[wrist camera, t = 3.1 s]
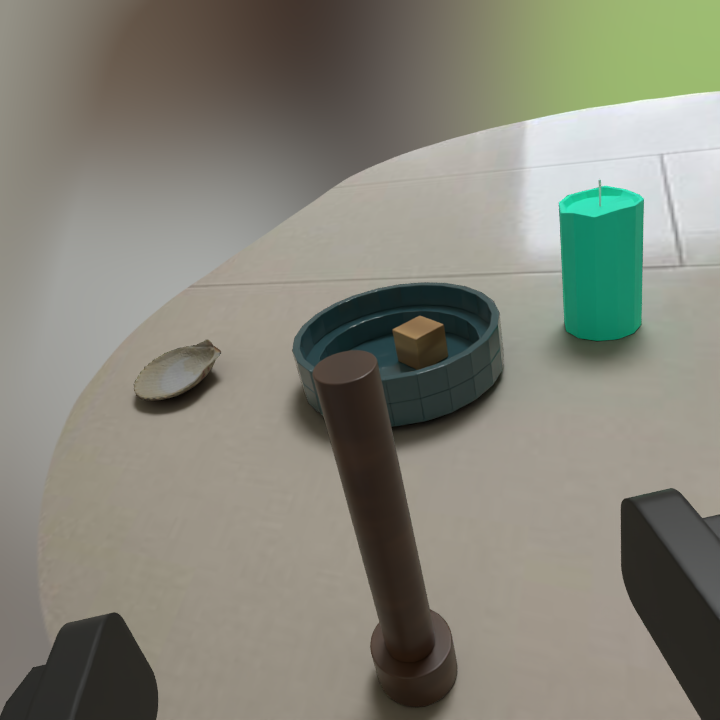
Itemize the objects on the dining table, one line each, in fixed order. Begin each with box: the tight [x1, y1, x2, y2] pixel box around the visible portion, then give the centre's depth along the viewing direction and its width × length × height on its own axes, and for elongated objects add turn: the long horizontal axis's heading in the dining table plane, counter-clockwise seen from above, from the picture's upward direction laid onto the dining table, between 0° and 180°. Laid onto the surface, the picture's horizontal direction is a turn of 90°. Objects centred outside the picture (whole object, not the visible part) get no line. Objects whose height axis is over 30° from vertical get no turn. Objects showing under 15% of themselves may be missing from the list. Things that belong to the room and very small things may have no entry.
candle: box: [559, 179, 644, 341], centre depth 49 cm, size 6×6×12 cm
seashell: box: [134, 340, 221, 401], centre depth 56 cm, size 8×3×8 cm
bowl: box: [292, 283, 504, 427], centre depth 50 cm, size 16×16×4 cm
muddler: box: [313, 350, 457, 707], centre depth 24 cm, size 4×4×16 cm
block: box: [392, 316, 448, 370], centre depth 51 cm, size 3×3×3 cm
